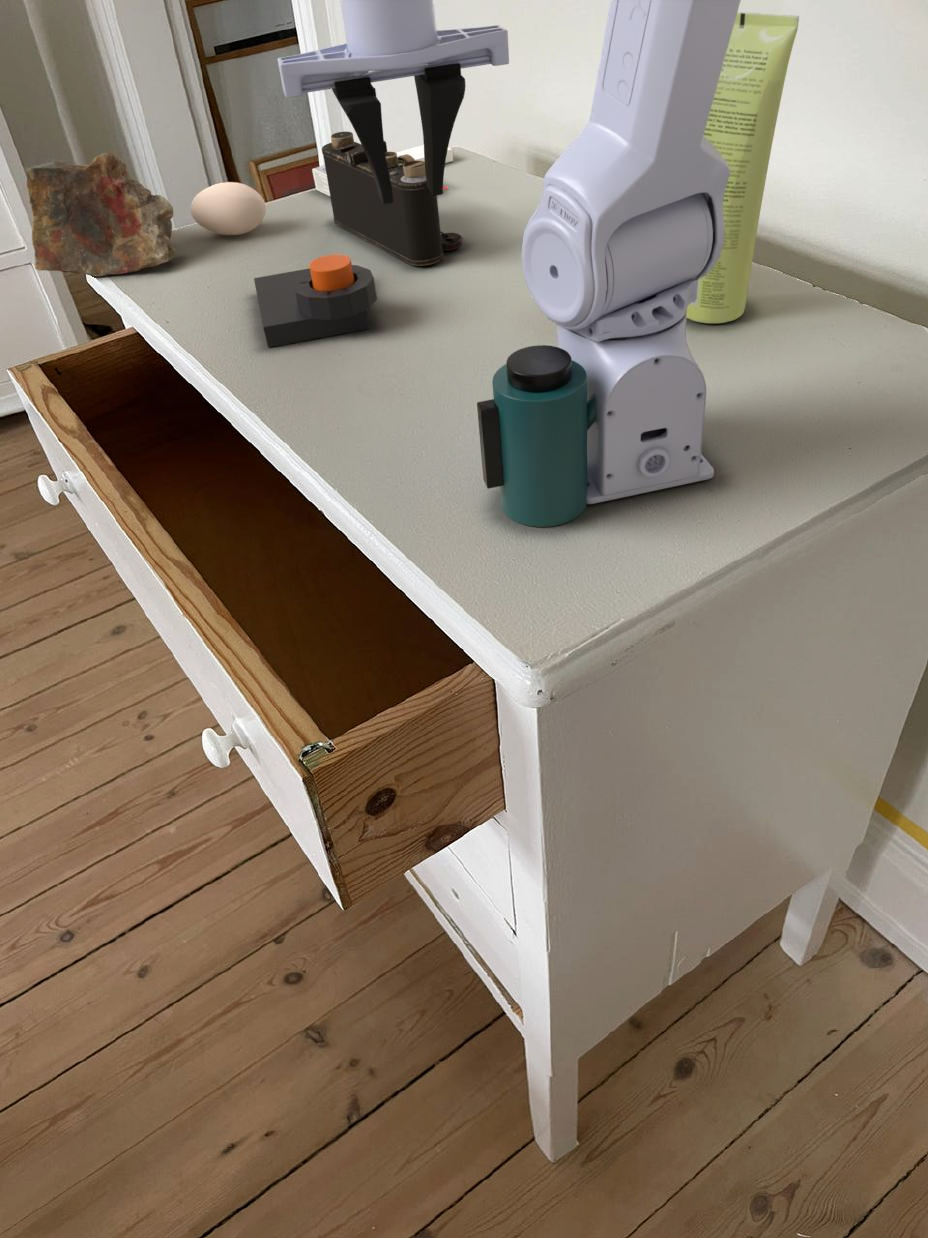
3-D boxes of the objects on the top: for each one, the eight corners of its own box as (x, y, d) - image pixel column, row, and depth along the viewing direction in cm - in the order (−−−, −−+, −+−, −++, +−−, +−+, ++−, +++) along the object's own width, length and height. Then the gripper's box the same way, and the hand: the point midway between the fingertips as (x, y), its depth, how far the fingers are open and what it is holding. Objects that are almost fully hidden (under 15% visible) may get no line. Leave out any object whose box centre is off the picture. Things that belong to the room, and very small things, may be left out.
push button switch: (385, 332, 75) (378, 288, 73) (269, 353, 74) (258, 309, 72) (363, 278, 83) (356, 237, 81) (258, 297, 82) (248, 256, 80)
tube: (744, 293, 75) (777, -3, 62) (761, 322, 71) (800, 13, 58) (670, 300, 75) (687, 6, 62) (683, 329, 71) (705, 23, 58)
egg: (274, 193, 94) (202, 197, 96) (256, 170, 90) (181, 175, 91) (273, 241, 94) (201, 244, 96) (254, 220, 90) (180, 225, 91)
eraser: (396, 151, 105) (413, 160, 103) (434, 140, 107) (452, 148, 104) (397, 164, 106) (415, 172, 103) (435, 152, 108) (453, 160, 105)
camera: (477, 248, 86) (470, 152, 80) (413, 270, 83) (401, 172, 78) (383, 203, 96) (371, 116, 91) (324, 222, 94) (308, 133, 89)
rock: (109, 179, 96) (38, 117, 86) (215, 193, 92) (153, 131, 82) (73, 298, 95) (-3, 250, 86) (178, 318, 91) (111, 270, 82)
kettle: (626, 510, 55) (631, 365, 49) (499, 538, 54) (487, 394, 48) (597, 465, 59) (598, 325, 53) (477, 490, 58) (464, 350, 52)
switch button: (357, 288, 74) (353, 266, 73) (316, 296, 74) (311, 273, 72) (351, 273, 76) (347, 251, 75) (311, 280, 76) (306, 258, 75)
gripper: (483, -64, 62) (496, 161, 71) (257, -33, 60) (300, 194, 69) (513, -51, 57) (523, 190, 66) (266, -16, 55) (312, 227, 64)
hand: (410, 194), depth 67 cm, fingers open, 3 cm apart
